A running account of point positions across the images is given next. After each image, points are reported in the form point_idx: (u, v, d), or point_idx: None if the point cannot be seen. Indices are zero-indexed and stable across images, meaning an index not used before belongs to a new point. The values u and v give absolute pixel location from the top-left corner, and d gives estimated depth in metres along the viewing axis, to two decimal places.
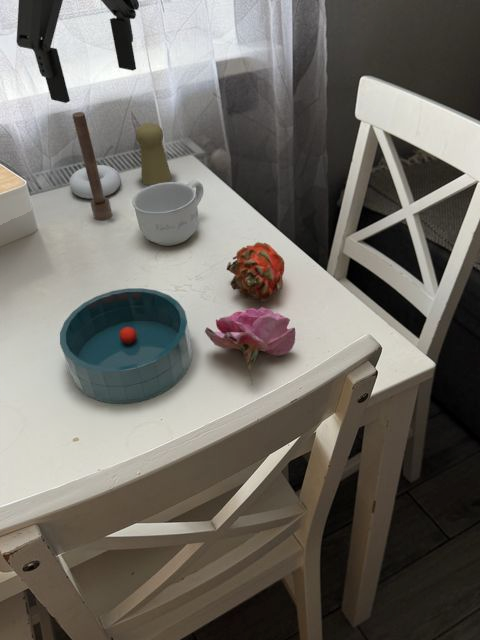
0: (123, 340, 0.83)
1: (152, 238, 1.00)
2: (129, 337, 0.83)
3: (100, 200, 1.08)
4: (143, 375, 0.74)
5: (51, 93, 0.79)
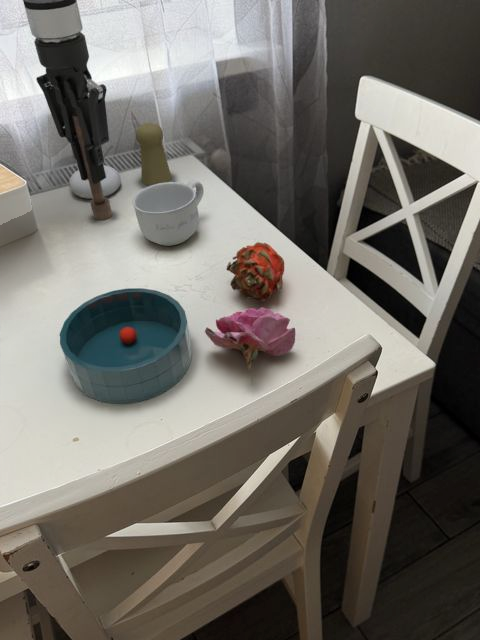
0: (123, 340, 0.83)
1: (152, 238, 1.00)
2: (129, 337, 0.83)
3: (100, 200, 1.08)
4: (143, 375, 0.74)
5: (96, 178, 1.04)
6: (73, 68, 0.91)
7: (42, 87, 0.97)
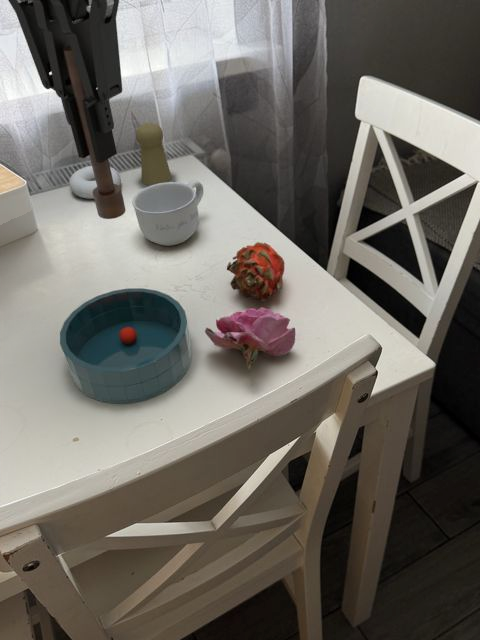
0: (123, 340, 0.83)
1: (152, 238, 1.00)
2: (129, 337, 0.83)
3: (108, 188, 0.71)
4: (143, 375, 0.74)
5: (101, 154, 0.67)
6: None
7: (14, 4, 0.60)
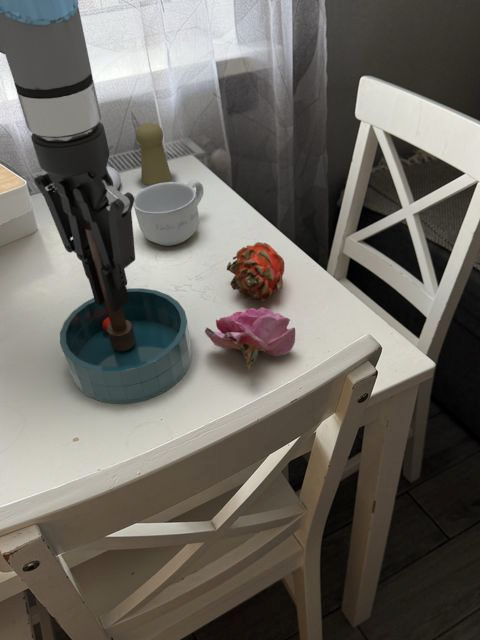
0: (103, 328, 0.85)
1: (152, 238, 1.00)
2: None
3: (120, 327, 0.80)
4: (143, 375, 0.74)
5: (116, 305, 0.77)
6: (87, 173, 0.63)
7: (42, 190, 0.69)
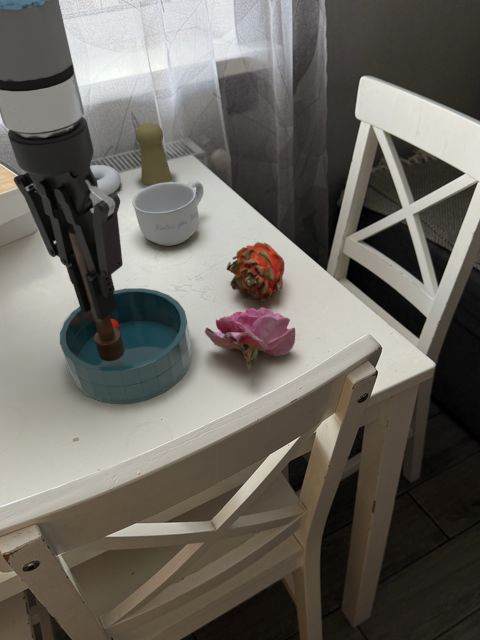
0: None
1: (152, 238, 1.00)
2: None
3: (108, 336, 0.76)
4: (143, 375, 0.74)
5: (102, 313, 0.72)
6: (69, 172, 0.59)
7: (23, 191, 0.64)
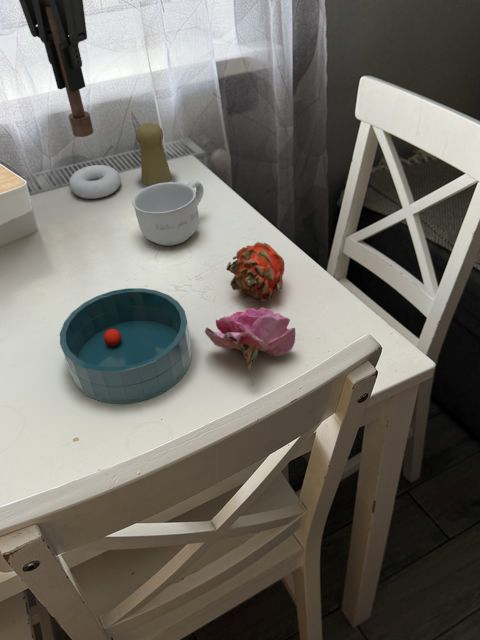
0: None
1: (152, 238, 1.00)
2: (104, 335, 0.83)
3: (79, 113, 0.97)
4: (143, 375, 0.74)
5: (73, 85, 0.93)
6: None
7: None
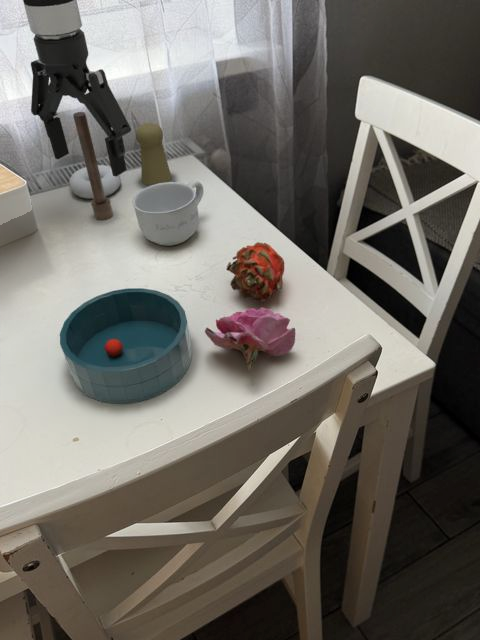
0: (105, 346, 0.82)
1: (152, 238, 1.00)
2: (107, 353, 0.82)
3: (101, 200, 1.08)
4: (143, 375, 0.74)
5: (116, 171, 1.00)
6: (69, 68, 0.91)
7: (34, 72, 0.96)
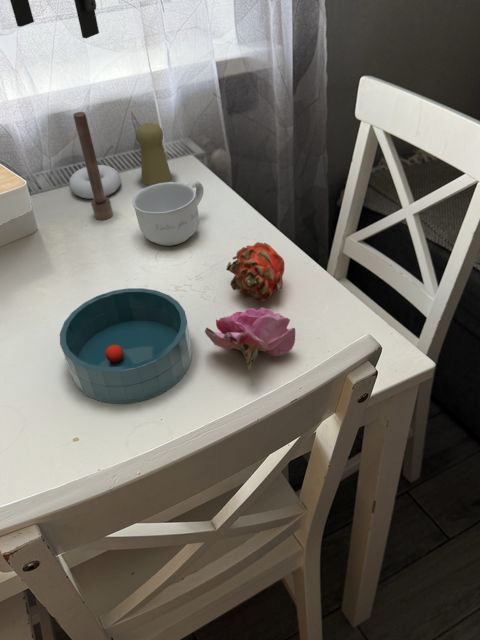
0: None
1: (152, 238, 1.00)
2: None
3: (101, 200, 1.08)
4: (143, 375, 0.74)
5: (86, 31, 0.85)
6: None
7: None
